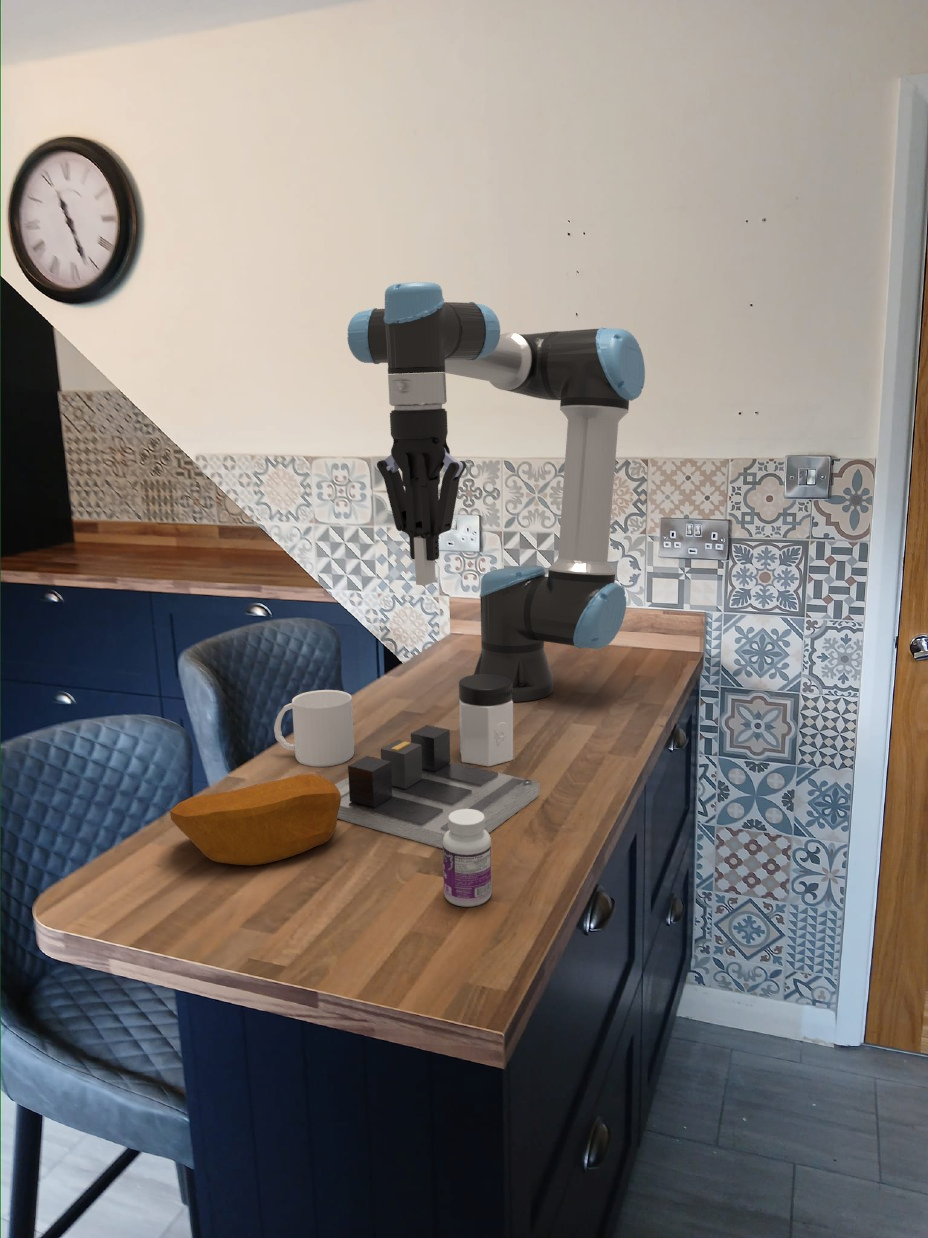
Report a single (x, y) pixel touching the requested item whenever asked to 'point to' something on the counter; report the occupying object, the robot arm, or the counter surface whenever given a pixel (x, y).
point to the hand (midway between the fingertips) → (425, 582)
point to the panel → (429, 793)
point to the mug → (320, 728)
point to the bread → (261, 820)
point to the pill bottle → (467, 859)
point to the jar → (486, 719)
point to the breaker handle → (404, 762)
